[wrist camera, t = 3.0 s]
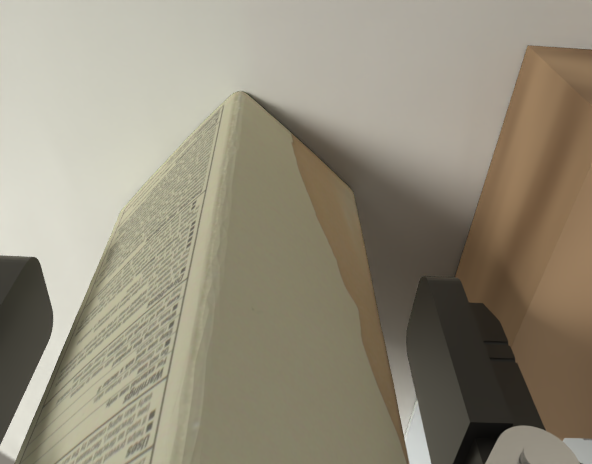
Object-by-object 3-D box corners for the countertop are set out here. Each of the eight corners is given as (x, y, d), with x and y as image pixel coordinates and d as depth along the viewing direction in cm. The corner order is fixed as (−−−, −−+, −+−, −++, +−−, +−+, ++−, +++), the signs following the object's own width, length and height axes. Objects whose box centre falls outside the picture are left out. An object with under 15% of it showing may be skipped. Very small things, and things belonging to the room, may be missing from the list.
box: (234, 290, 17) (175, 807, 8) (115, 208, 15) (-132, 760, 6) (365, 185, 15) (481, 736, 6) (244, 74, 13) (148, 632, 4)
